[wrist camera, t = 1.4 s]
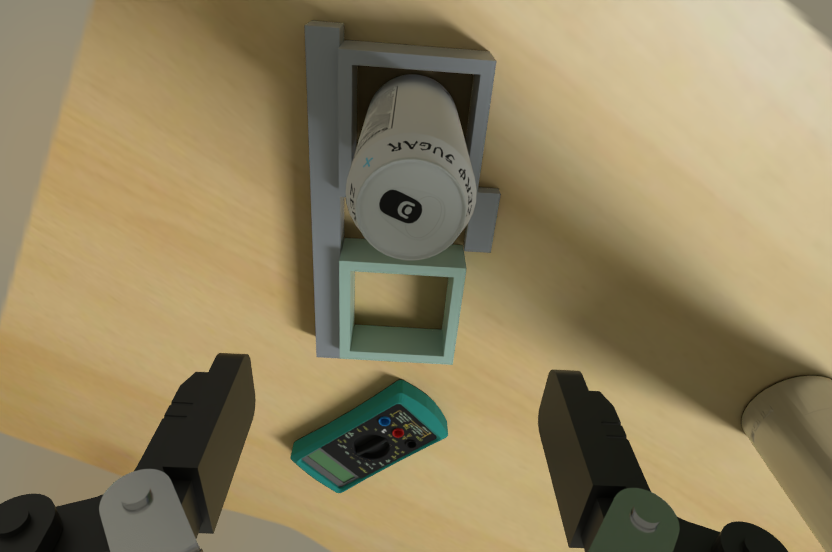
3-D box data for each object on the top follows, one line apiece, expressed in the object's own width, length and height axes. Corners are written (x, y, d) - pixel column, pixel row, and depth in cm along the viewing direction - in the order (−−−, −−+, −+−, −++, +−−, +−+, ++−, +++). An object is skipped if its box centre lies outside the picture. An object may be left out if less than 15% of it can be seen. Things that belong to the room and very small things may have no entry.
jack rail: (524, 37, 33) (534, 46, 30) (472, 347, 46) (476, 374, 43) (311, 20, 32) (301, 27, 29) (321, 338, 45) (314, 366, 42)
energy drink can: (430, 175, 37) (438, 291, 25) (353, 137, 36) (319, 239, 23) (473, 98, 35) (507, 184, 22) (391, 53, 33) (377, 118, 20)
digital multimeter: (453, 415, 51) (455, 439, 49) (340, 476, 56) (337, 501, 53) (406, 370, 48) (405, 394, 45) (291, 439, 53) (285, 463, 50)
